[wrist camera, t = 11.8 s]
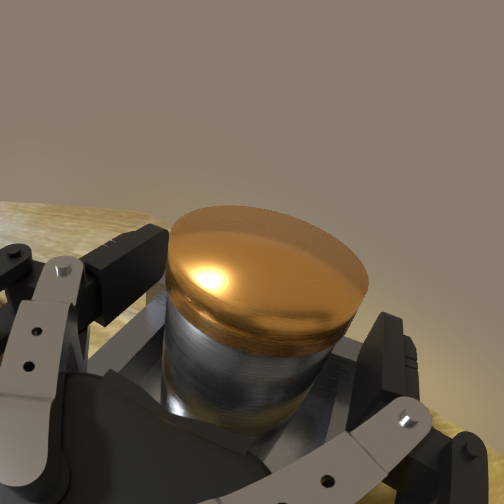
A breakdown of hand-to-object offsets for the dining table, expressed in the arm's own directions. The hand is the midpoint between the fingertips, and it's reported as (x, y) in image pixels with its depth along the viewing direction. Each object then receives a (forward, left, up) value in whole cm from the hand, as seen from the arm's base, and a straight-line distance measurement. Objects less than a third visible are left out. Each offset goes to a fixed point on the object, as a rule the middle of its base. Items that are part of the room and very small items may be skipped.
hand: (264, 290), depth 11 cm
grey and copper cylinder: (0, +2, -7) cm, 8 cm away
